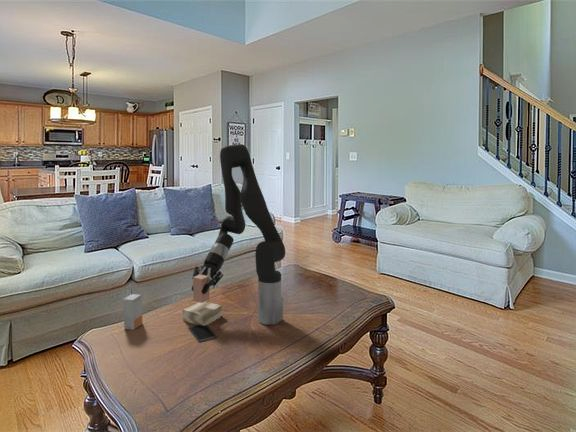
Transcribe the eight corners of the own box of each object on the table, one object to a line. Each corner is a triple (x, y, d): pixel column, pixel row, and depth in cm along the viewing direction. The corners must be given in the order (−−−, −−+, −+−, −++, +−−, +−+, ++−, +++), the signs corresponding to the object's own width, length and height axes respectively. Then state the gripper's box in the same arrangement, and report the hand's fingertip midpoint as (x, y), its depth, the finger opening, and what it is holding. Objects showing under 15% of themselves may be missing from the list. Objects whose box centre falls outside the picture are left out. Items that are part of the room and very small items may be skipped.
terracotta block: (209, 299, 155) (209, 276, 153) (202, 303, 151) (201, 279, 149) (201, 297, 157) (200, 274, 155) (193, 300, 153) (193, 277, 151)
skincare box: (134, 330, 144) (132, 300, 142) (124, 329, 144) (122, 299, 143) (143, 323, 149) (141, 294, 148) (133, 322, 150) (131, 293, 148)
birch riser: (221, 316, 157) (221, 305, 156) (204, 327, 147) (204, 315, 147) (201, 311, 162) (201, 300, 161) (183, 321, 152) (182, 309, 152)
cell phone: (199, 344, 135) (199, 342, 135) (187, 328, 146) (187, 326, 146) (218, 339, 138) (218, 337, 138) (205, 324, 150) (205, 322, 150)
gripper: (199, 249, 161) (179, 284, 152) (226, 253, 154) (207, 291, 145) (208, 258, 166) (189, 293, 158) (234, 263, 159) (216, 299, 151)
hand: (198, 291), depth 152 cm, fingers closed on terracotta block, 4 cm apart
